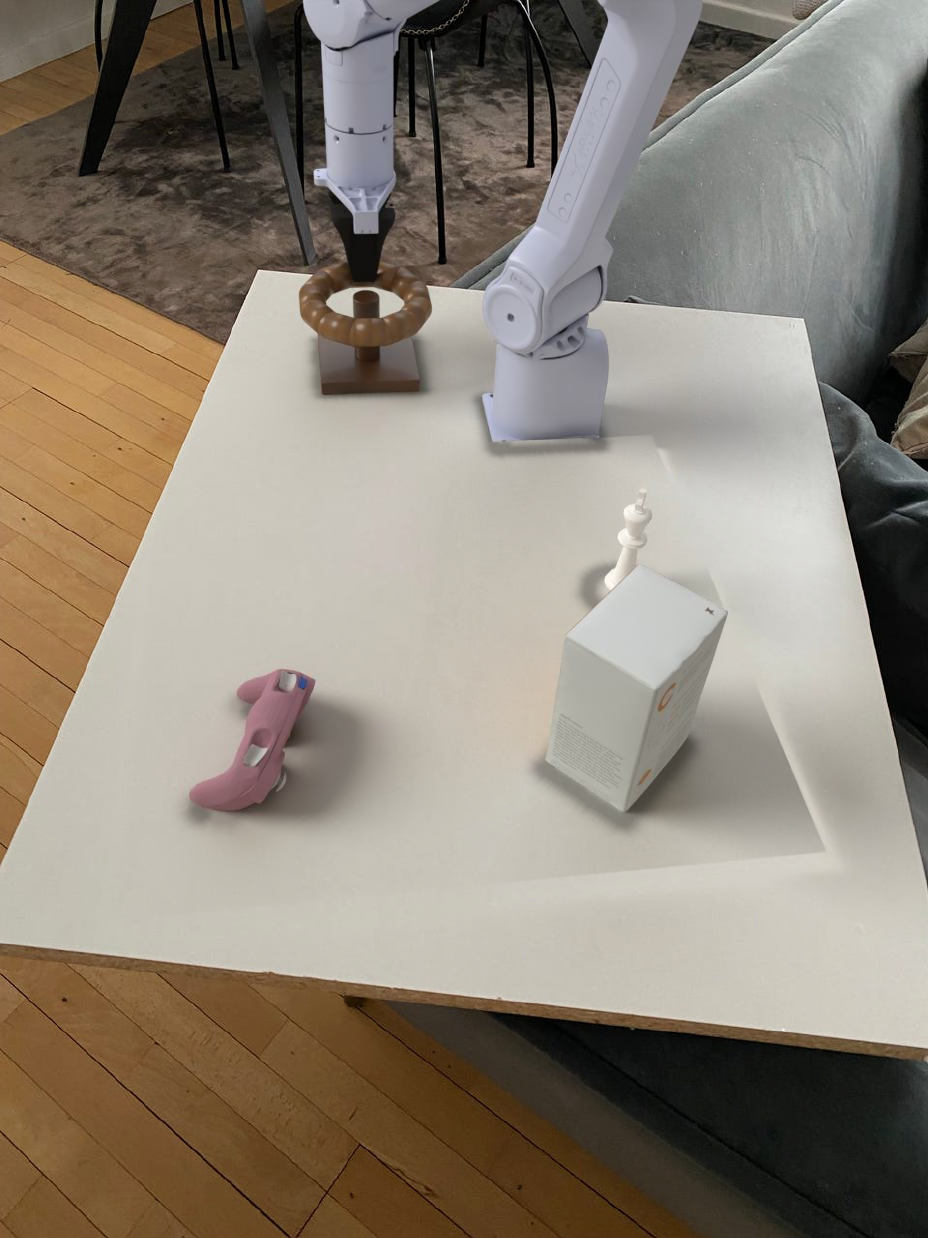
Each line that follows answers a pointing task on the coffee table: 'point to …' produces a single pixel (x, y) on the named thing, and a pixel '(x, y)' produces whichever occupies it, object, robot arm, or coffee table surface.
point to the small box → (631, 684)
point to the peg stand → (367, 359)
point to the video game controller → (259, 742)
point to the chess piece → (630, 539)
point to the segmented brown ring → (365, 329)
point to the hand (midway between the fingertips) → (362, 271)
